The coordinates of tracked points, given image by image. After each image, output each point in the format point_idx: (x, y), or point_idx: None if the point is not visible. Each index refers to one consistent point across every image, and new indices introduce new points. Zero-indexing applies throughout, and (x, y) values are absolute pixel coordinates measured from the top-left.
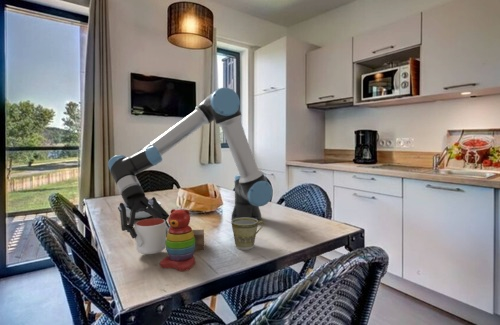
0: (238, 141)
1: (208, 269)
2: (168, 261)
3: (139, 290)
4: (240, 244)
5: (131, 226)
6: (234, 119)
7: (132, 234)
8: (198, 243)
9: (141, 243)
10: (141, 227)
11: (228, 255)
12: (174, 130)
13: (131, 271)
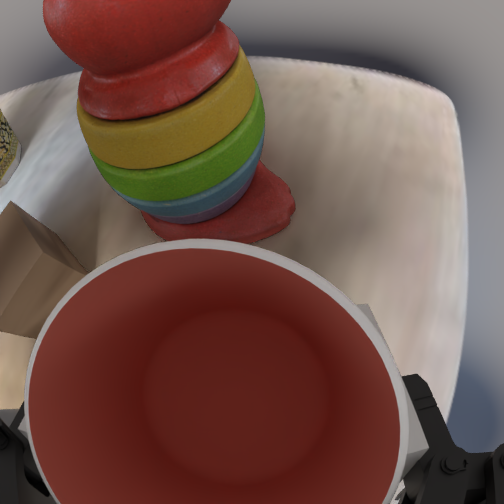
0: None
1: None
2: (265, 170)
3: (414, 123)
4: (12, 144)
5: (453, 455)
6: None
7: (430, 394)
8: (47, 235)
9: (366, 308)
10: (386, 351)
11: (65, 140)
12: None
13: (408, 264)
